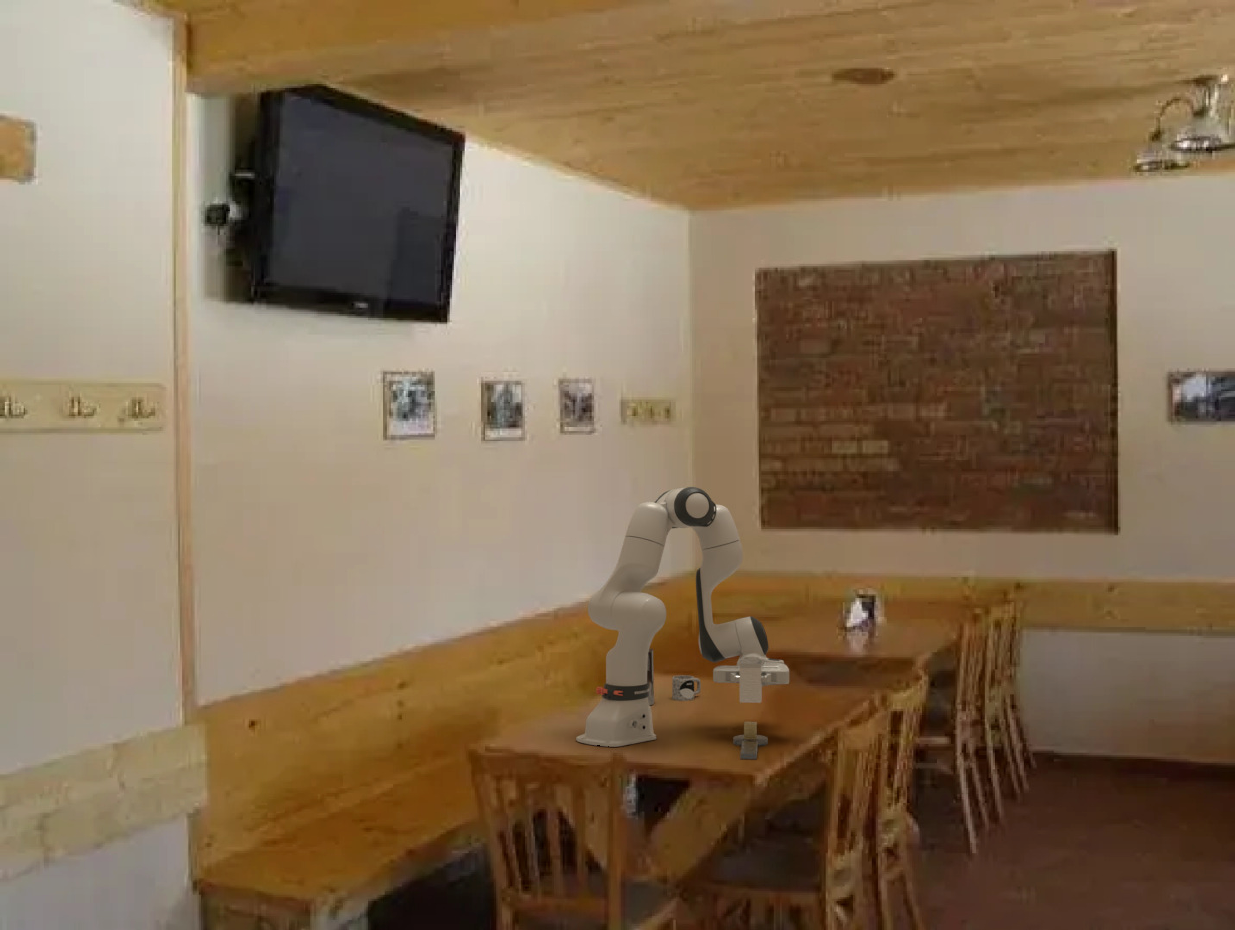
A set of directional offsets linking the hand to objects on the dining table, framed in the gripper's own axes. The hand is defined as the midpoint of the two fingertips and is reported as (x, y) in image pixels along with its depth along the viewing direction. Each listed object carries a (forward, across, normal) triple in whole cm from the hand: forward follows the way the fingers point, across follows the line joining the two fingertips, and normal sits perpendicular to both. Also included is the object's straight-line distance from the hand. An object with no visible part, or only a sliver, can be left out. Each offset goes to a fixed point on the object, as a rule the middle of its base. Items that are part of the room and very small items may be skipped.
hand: (750, 679), depth 398 cm
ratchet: (+6, 0, +17) cm, 18 cm away
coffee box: (-54, -35, +17) cm, 67 cm away
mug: (-64, -21, +17) cm, 70 cm away
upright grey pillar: (-1, 0, +6) cm, 6 cm away
